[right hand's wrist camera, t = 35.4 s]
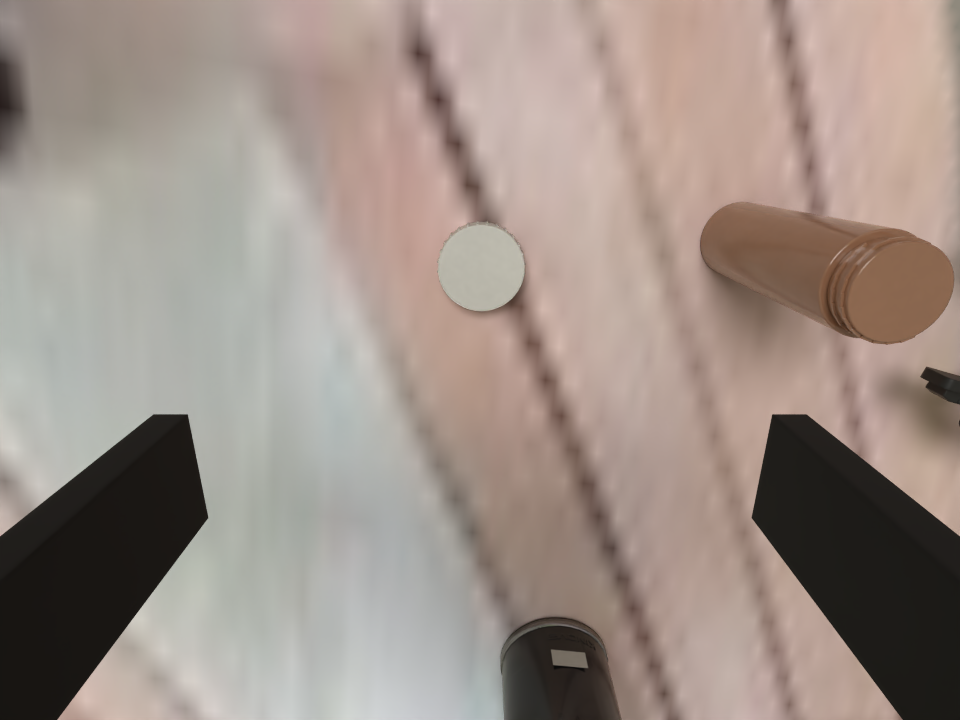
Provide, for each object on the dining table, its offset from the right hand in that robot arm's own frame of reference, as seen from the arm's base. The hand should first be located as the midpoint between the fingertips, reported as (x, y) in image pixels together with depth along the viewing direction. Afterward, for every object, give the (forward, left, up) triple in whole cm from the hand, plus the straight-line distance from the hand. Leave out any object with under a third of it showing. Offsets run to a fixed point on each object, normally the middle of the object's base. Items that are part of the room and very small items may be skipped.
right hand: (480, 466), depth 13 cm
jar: (-3, +17, -27) cm, 32 cm away
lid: (0, 0, -25) cm, 25 cm away
